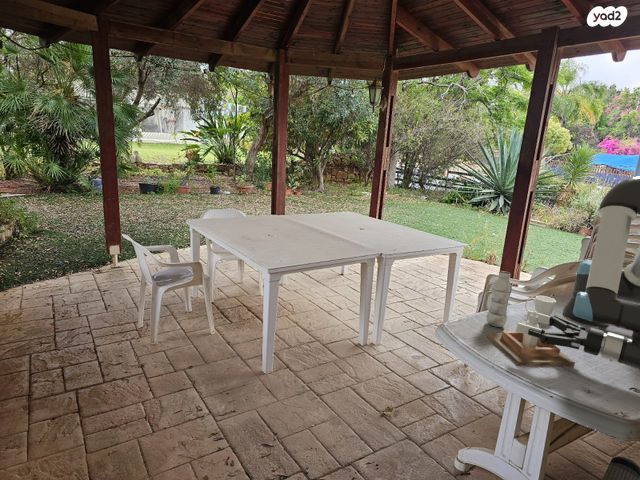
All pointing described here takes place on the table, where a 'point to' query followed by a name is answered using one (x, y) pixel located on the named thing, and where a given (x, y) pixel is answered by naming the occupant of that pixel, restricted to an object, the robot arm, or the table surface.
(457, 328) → the table surface
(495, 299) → the plastic bottle
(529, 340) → the eye dropper bottle
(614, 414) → the table surface
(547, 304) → the cup
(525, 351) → the collar board
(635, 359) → the robot arm
